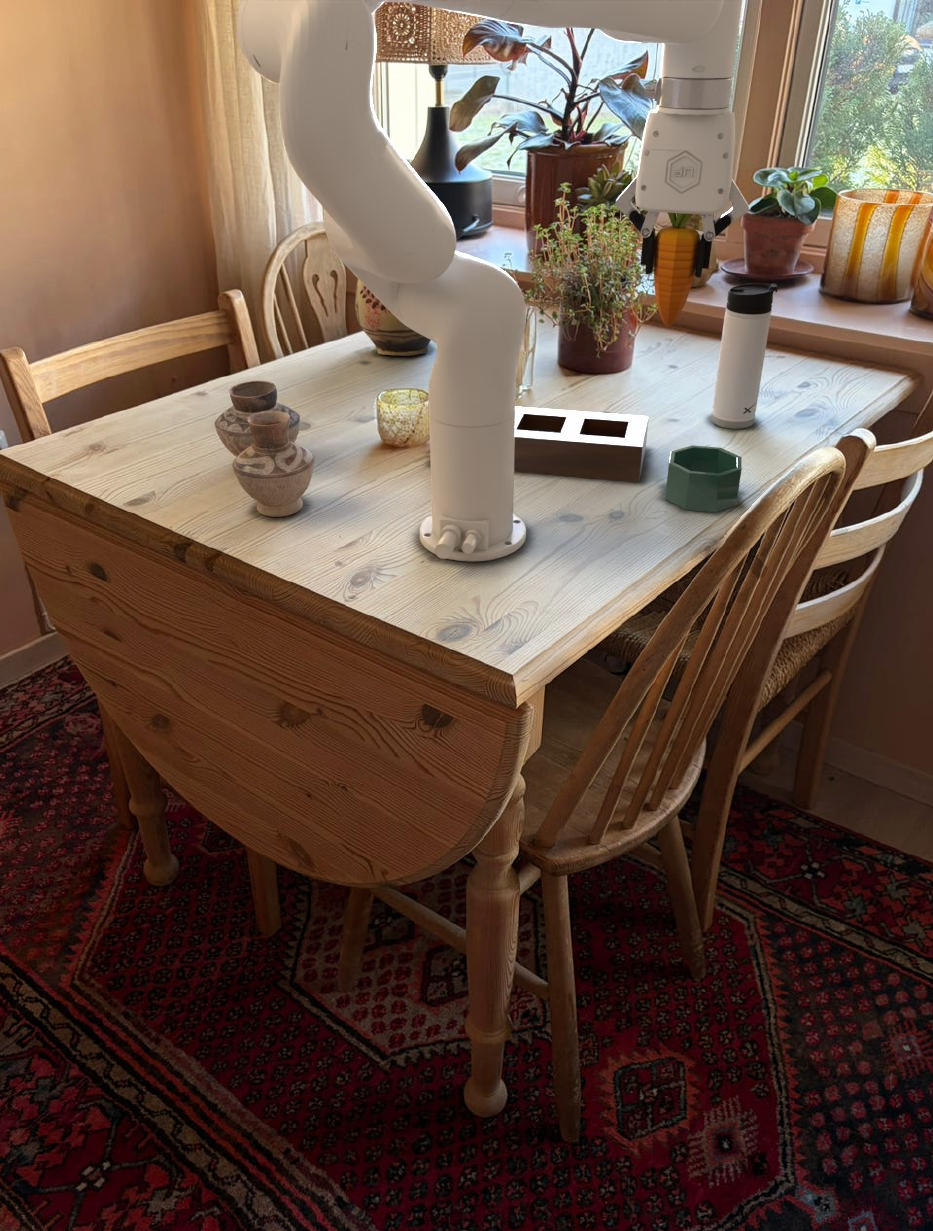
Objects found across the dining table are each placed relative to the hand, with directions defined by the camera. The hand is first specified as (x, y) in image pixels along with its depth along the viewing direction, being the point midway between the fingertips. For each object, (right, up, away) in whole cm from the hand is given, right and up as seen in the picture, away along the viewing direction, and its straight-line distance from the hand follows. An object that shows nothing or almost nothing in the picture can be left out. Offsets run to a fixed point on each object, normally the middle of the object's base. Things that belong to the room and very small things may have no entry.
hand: (673, 271), depth 114 cm
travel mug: (+16, -11, +33) cm, 38 cm away
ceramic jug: (-36, +8, +63) cm, 74 cm away
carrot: (0, -6, +4) cm, 7 cm away
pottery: (-50, -23, +16) cm, 57 cm away
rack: (-14, -18, +22) cm, 32 cm away
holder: (+6, -25, +12) cm, 28 cm away
